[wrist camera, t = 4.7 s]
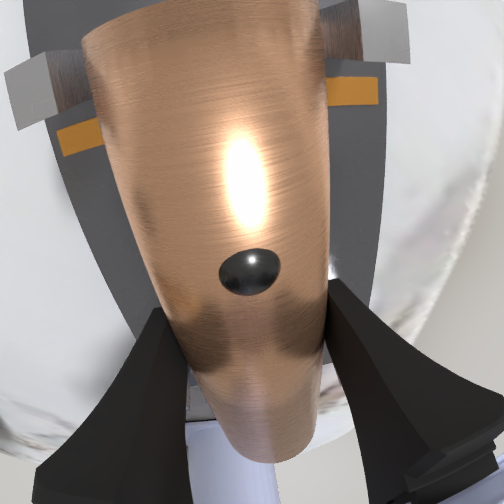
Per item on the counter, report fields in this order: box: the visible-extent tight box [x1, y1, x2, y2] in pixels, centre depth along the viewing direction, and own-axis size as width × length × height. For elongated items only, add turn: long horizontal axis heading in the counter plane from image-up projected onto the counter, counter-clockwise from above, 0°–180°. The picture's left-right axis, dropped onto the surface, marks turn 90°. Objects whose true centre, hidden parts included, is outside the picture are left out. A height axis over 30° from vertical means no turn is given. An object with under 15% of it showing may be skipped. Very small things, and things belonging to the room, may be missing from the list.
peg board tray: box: [4, 0, 410, 411], centre depth 11 cm, size 22×12×5 cm, turn 7°
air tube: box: [81, 0, 330, 464], centre depth 10 cm, size 18×5×5 cm, turn 7°
